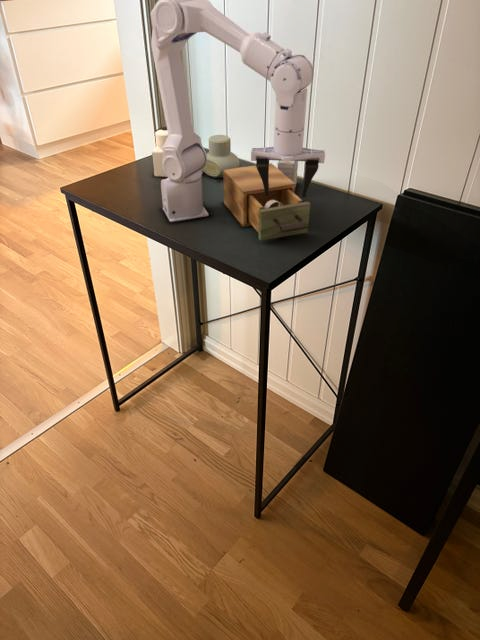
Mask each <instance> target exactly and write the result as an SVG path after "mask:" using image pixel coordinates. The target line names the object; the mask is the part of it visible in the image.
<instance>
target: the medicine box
mask: <svg viewBox="0 0 480 640" xmlns="http://www.w3.org/2000/svg"><path fill="white" fill-rule="evenodd" d="M276 168H278V169H279V170H280V171H281V172H282V173H283V174H285V175H286V176H287V177H288V178H289V179H290V180H292V181H293V182H294V183H295V188H296V187H297V183H298V169H299V161H278V162H277V167H276Z"/></svg>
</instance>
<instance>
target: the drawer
mask: <svg viewBox="0 0 480 640" xmlns="http://www.w3.org/2000/svg"><path fill="white" fill-rule="evenodd" d="M270 200H276V201H278V202H280V203H282V204H283V206H279V205H278V203H274V204H272V205H271V206H270V207H269V208H267V209H263V207H264V206H265V204H266V203H267V202H268V201H270ZM278 206H279V207H278ZM310 212H311V202H309V201H304V202H303V199H301V198H300V196H298V195H297V194H296V193H293V192H292V191H291V190H290V189H289V188H285V189H279V190H273V191H269V195H268V196H265V192H260V193H254V194H247V220H248V221H249V222H250V224H251V225H252V226H251V227H253V228H254V229H255V231H256V232H257V233H258V240H259V241H261V242H263V241H267V240H272V239H278V238H279V239H280V238H284V237H289V236H294V235H300V234H304V233H308V232H309V226H310V224H309V223H310V214H311V213H310Z"/></svg>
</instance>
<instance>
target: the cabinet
mask: <svg viewBox="0 0 480 640" xmlns="http://www.w3.org/2000/svg"><path fill="white" fill-rule="evenodd" d="M222 181H223V204H224V205H225V206H226V208H227V209H228V211H230V213H231V214H232V215H233V216H234V218H235V219H236V220H237V221H238V222H239V224H240V225H241V226H242V228H246V227H253V226H252V225H251V224H250V222H249V221H248V220H247V194H254V193H260V192H265V190H264V185H263V182H262V179H261V176H260V174H259V172H258V170H257V167H256V164H255V165H249V166H240V167H239V168H233V169H226V170H223V179H222ZM285 188H289V189H290V190H291V191H292V192H293V193H295V192H296V187H295V183H294V182H293V181H292V180H290V179H289V178H288V177H287V176H286V175H285V174H283V173H282V172H281V171H280V170H279V169H278V168H277V167H276V165H275V164H273V163H272V162H271V163H270V162H269V191H273V190H279V189H285ZM295 194H296V193H295Z"/></svg>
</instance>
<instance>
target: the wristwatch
mask: <svg viewBox="0 0 480 640" xmlns="http://www.w3.org/2000/svg"><path fill="white" fill-rule="evenodd" d="M274 203H278V205H279V206H283V204H282V203H280V202H278V201H276V200H270V201H268V202H267V203H266V204H265V206H264V207H263V209H267V208H269V207H270V206H271V205H272V204H274ZM279 206H278V207H279Z"/></svg>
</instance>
